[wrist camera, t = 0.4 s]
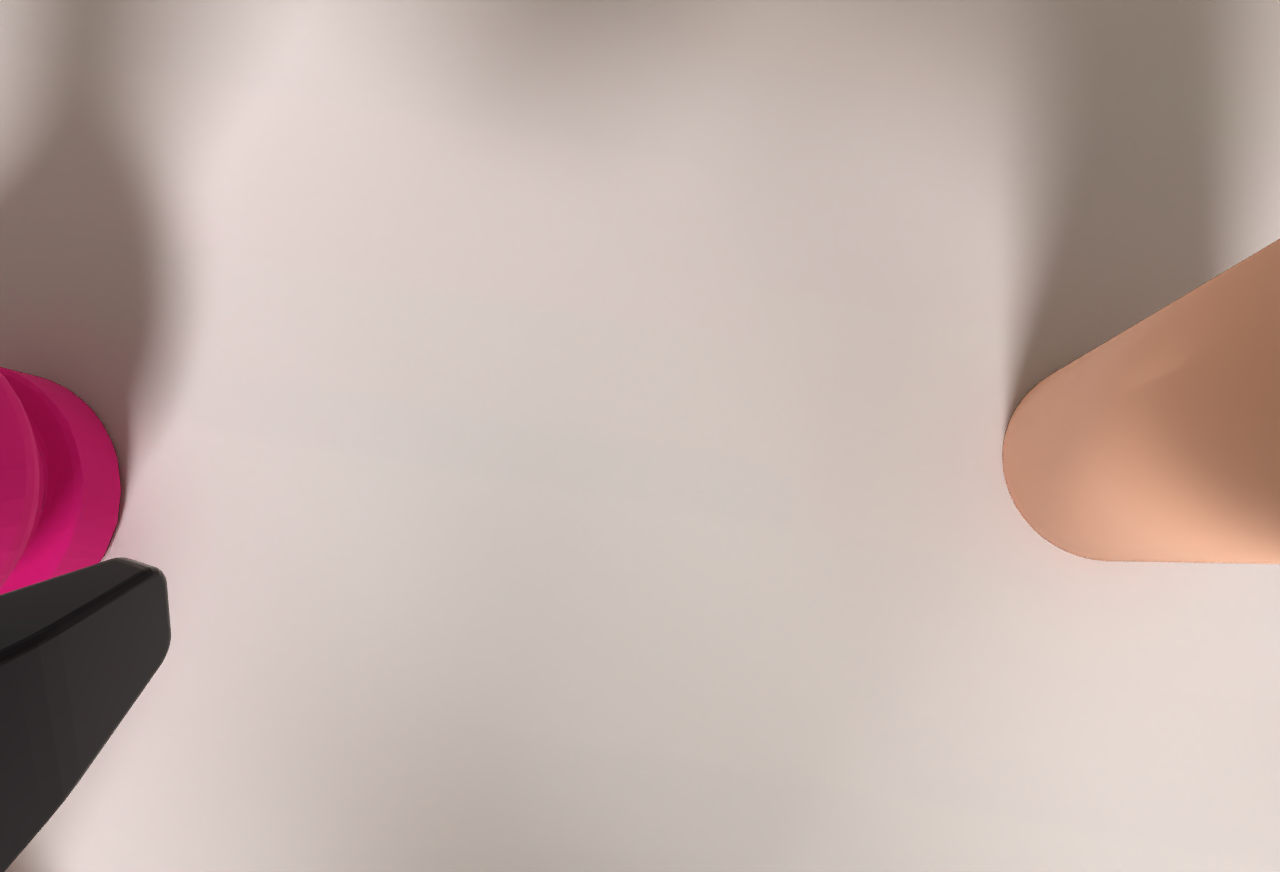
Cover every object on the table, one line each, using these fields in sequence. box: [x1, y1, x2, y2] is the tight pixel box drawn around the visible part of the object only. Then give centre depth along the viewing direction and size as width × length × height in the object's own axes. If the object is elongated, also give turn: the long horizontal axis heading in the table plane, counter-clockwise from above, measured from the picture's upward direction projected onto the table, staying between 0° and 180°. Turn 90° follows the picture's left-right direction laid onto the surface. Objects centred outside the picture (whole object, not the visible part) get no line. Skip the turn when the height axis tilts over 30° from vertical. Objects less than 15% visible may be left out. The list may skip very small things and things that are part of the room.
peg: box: [1003, 239, 1280, 564], centre depth 17 cm, size 4×4×13 cm
